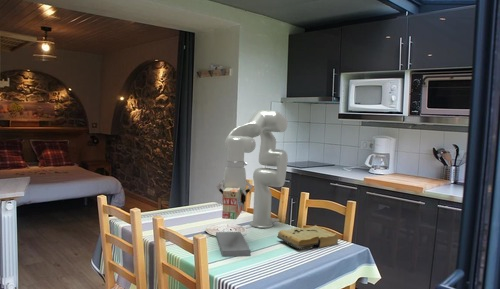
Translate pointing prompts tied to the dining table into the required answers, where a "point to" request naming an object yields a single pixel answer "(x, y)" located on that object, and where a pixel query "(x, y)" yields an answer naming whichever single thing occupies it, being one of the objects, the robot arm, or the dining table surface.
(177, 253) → the dining table surface
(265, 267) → the dining table surface
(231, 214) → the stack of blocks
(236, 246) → the grey plinth
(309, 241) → the book
